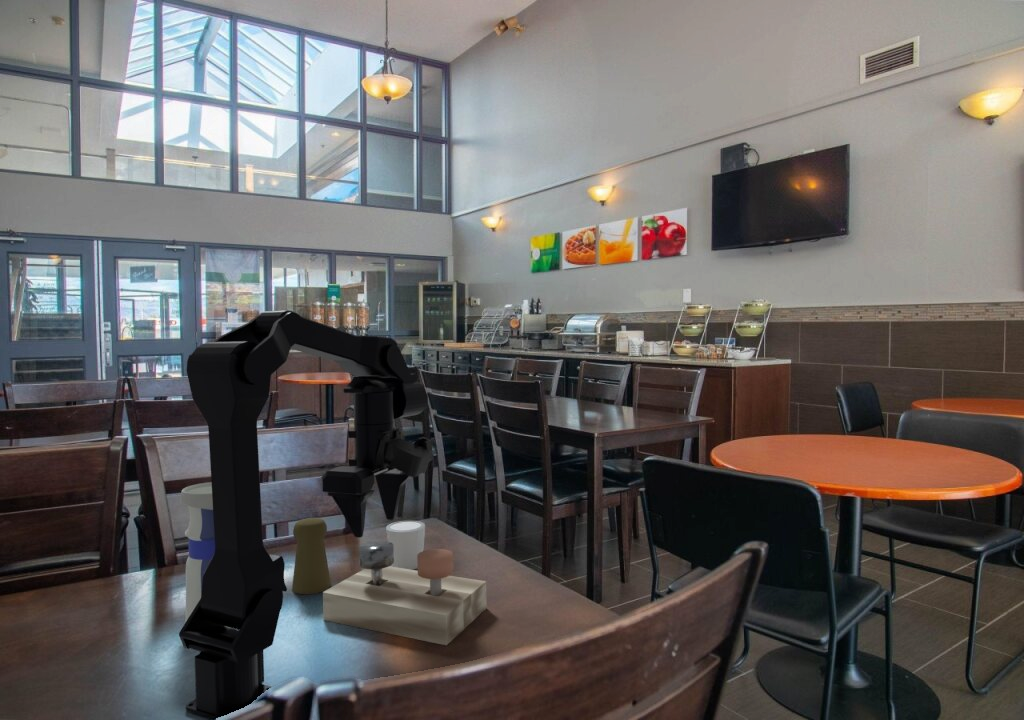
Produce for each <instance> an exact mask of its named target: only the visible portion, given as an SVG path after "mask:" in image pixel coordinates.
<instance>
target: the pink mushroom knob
mask: <svg viewBox="0 0 1024 720" xmlns="http://www.w3.org/2000/svg"><path fill="white" fill-rule="evenodd" d="M417 565H418V568H417V571H418V575H419V576H420V577H422V578H425V579H430V595H434V596H440V595H441V594H442V587H441V578H445V577H448V576H452V575H453V573H454V553H453V552H452V551H451V550H449V549H443V548H431V549H425V550H423V551H422V552H420V553H419V554H418V555H417Z"/></svg>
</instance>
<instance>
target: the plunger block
mask: <svg viewBox="0 0 1024 720" xmlns="http://www.w3.org/2000/svg"><path fill="white" fill-rule="evenodd" d="M382 575H383V584H382V585H380V586H376V585H372V579H371V569H364V568H362V570H360V571H358V572H357V573H354V574H352V575H350V576H349V577H347V578H346V579H343V580H342V581H341V582H339V583H337V584H335V585H333V586H332V587H331V586H330V587H329V588H328V589H326V590H324V591H322V610H323V613H322V614H323V616H322V617H323V619H322V620H323V621H328V622H331V623H336V624H341V625H347V626H351V627H354V628H355V627H356V628H361V629H366V630H370V631H375V632H379V633H385V634H390V635H395V636H399V637H405V638H409V639H414V640H418V641H419V640H420V641H424V642H427V643H433V644H438V645H442V646H448V644H450V643H451V642H452V641H453V640H454V639H455V638H456V637H457V636H458V635H460V634H461V633H462V632H463V631H464V630H465V629H466V628H467V627H468V626H469V625H470V624H471V623H473V622H474V621H475V620H476V619H477V618H478V617H479V616H480V615H481V614H482V613H483V612H484V611H486V609H487V605H488V604H487V581H486V580H479V579H474V578H467V577H461V576H454V575H450V576H448V577H445V578H441V587H442V594H441V595H440V596H434V595H430V579H425V578H422V577H420V576H419V575H418V570H417V569H412V570H410V569H403V568H397V567H391V566H389V567H386V568H382Z"/></svg>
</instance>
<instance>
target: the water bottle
mask: <svg viewBox="0 0 1024 720" xmlns="http://www.w3.org/2000/svg"><path fill="white" fill-rule="evenodd" d="M179 504H180V505H182V506H186V507H187V510H188V514H189V515H188V516H189V523H188V526H187V528H186V530H185V531H184V535H185V537H187V538H188V541H187V542H188V557H187V559H186V563H185V616H184V618H185V621H184V624H185V623H186V621H187V620H188V618H189V616H190V615H191V613H192V612H193V610H194V608H195V607H196V605H197V604H198V602H199V600H200V599H201V592H202V581H203V575H204V572H205V570H206V569H207V567H208V565H209V563H210V561H211V559H212V557H213V555H214V553H215V536H214V518H213V500H212V483H211V481H210V482H202V483H197V484H192V485H188V486H186V487H184V488H182V490H181V493H180V496H179ZM224 627H227V626H224ZM227 628H231V627H227ZM231 629H234V628H231Z"/></svg>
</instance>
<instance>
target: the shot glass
mask: <svg viewBox="0 0 1024 720" xmlns="http://www.w3.org/2000/svg"><path fill="white" fill-rule="evenodd" d="M385 529H386V530H385V531H386V539H387V542H391V543H393V545H394V563H393V564H392V565H391V567H397V568H403V569H410V570H417V569H418V565H417V555H418V554H419V553H420V552H422V551H425V550H424V548H425V545H424V544H425V533H426V524H425V522H422V521H419V520H400V521H395V522H392V523H390V524H387V525H386V528H385Z"/></svg>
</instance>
